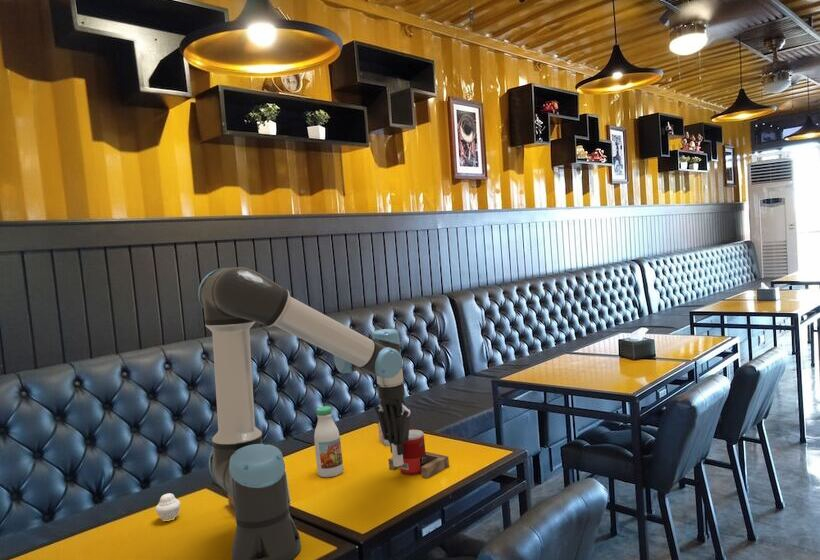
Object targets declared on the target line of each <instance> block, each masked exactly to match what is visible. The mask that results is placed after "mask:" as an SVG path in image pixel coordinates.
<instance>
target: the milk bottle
mask: <svg viewBox="0 0 820 560" xmlns="http://www.w3.org/2000/svg"><path fill="white" fill-rule="evenodd" d="M315 413H316V417H317V422H316V426H315V430H314V435H313V437H314V438H313V439H314V450H315V460H316V461H315V462H316V468H317V469H316V470H317V475H318V476H319V477H322V478H333V477H336V476H337V477H338V476H339V475H341V474H342V473H343V472H344V463H343V453H342V445H341V436H340V435H341V434H340V432H339V429H338V427H337V425H336V423H335V422H334V420H333V417H332V415H333V409H332V407H331V406H329V405H326V406H325V405H324V406H320V407H317V408H316V412H315Z"/></svg>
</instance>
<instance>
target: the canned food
mask: <svg viewBox="0 0 820 560" xmlns="http://www.w3.org/2000/svg"><path fill="white" fill-rule="evenodd" d="M425 443H426V442H425V434H424V432H423V430H419V429H409V438H408V441H405V442H403V449H404V454H403V462H404V464H402V465H400V467H399V470H400V473H402V474H404V475H408V476H415V474H416V475H420V474H422V471H421V467H422V466H424V465H426V464H427V463H426V452H427V451H426V444H425Z"/></svg>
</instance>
